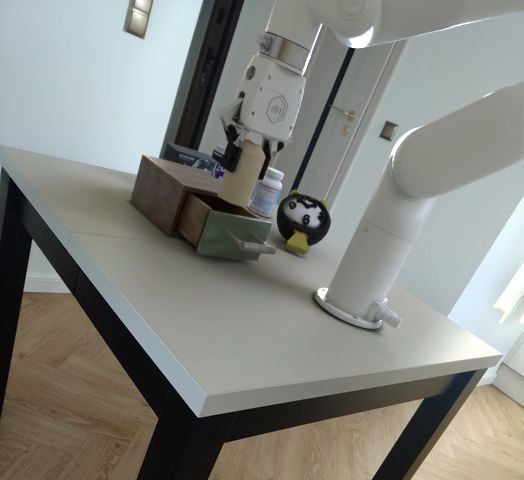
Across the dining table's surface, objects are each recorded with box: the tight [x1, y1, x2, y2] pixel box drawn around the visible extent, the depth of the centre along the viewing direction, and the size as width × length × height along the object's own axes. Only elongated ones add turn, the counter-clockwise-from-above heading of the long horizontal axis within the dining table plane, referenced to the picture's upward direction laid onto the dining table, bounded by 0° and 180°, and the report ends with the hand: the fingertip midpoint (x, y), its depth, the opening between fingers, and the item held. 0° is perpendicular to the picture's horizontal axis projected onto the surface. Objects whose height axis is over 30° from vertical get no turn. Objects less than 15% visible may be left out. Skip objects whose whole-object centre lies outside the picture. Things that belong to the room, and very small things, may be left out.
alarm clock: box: [276, 189, 332, 256], centre depth 114 cm, size 12×15×15 cm
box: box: [161, 141, 220, 177], centre depth 111 cm, size 11×7×10 cm, turn 123°
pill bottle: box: [249, 166, 285, 218], centre depth 129 cm, size 6×6×11 cm
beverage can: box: [210, 144, 227, 181], centre depth 124 cm, size 6×6×12 cm
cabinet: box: [130, 153, 221, 239], centre depth 96 cm, size 16×14×9 cm
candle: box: [217, 138, 266, 208], centre depth 84 cm, size 6×6×10 cm
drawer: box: [175, 191, 277, 262], centre depth 88 cm, size 21×13×7 cm, turn 39°
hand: (242, 172), depth 84 cm, fingers closed on candle, 5 cm apart
